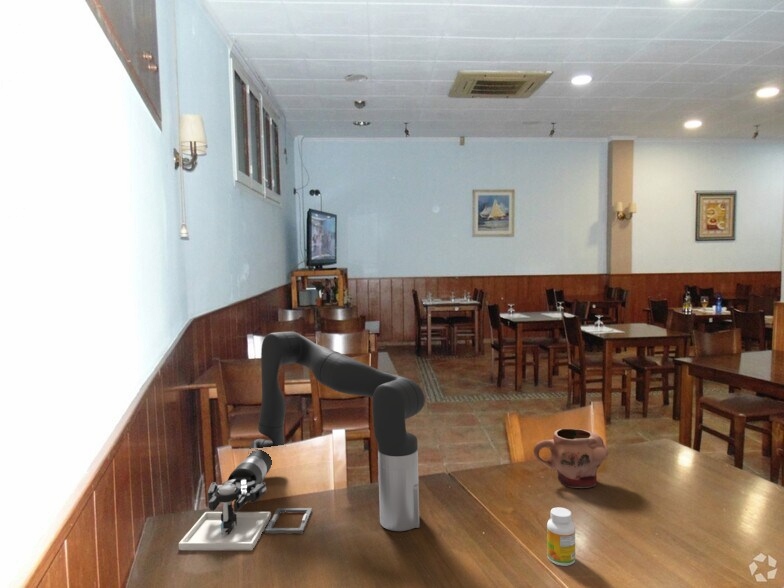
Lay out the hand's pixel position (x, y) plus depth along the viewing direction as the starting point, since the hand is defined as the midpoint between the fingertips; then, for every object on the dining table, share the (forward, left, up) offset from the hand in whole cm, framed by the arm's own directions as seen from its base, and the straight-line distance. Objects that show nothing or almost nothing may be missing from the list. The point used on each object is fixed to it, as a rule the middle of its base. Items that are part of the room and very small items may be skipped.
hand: (223, 506), depth 113 cm
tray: (0, -1, -7) cm, 7 cm away
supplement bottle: (-72, +9, -7) cm, 73 cm away
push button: (0, -2, -7) cm, 7 cm away
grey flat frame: (-13, -6, -7) cm, 16 cm away
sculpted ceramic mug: (-85, -27, -7) cm, 90 cm away
